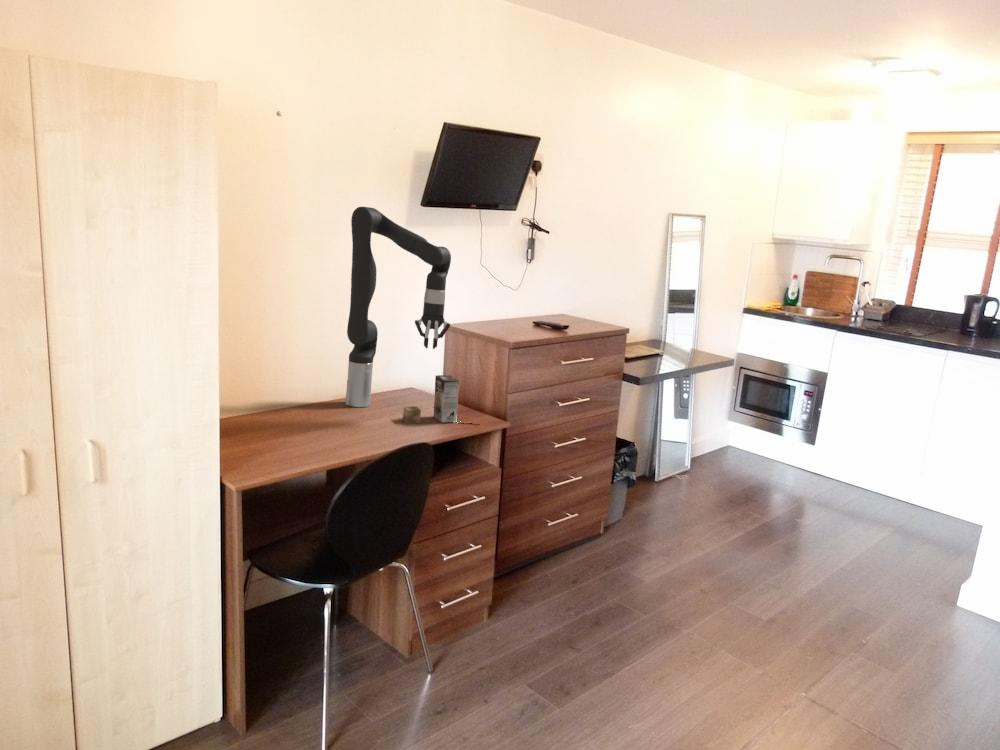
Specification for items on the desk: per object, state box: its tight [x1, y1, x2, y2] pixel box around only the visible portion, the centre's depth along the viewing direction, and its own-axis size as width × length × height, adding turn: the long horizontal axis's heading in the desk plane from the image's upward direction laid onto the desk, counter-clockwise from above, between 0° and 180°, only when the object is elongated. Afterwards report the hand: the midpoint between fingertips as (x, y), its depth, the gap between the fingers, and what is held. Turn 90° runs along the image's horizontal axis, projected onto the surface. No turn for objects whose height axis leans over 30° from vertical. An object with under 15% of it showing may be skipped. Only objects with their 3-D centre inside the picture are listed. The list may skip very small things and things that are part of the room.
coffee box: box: [433, 374, 460, 423], centre depth 267 cm, size 9×6×16 cm
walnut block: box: [402, 406, 422, 424], centre depth 261 cm, size 5×5×5 cm
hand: (430, 347), depth 262 cm, fingers closed
